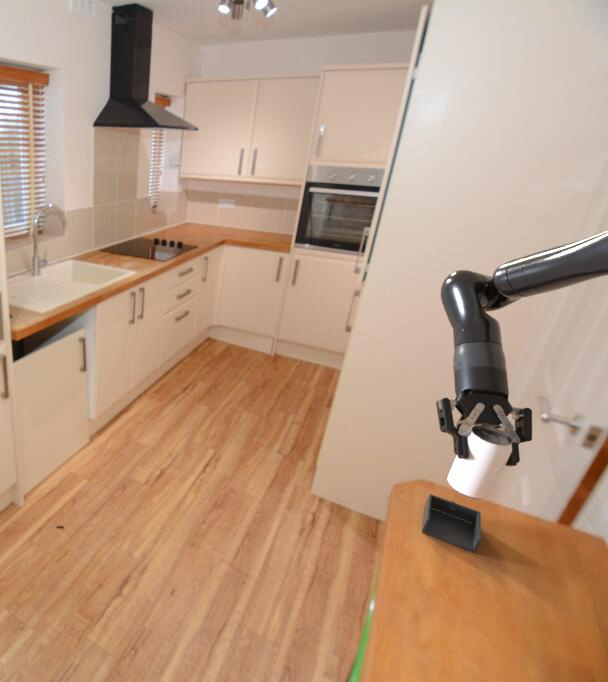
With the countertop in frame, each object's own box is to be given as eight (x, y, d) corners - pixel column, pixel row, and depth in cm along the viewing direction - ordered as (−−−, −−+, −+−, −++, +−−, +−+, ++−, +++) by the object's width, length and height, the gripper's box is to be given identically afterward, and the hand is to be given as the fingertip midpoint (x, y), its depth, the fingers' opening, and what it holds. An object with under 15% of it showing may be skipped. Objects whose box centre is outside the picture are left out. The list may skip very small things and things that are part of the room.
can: (480, 478, 86) (504, 426, 81) (497, 503, 80) (524, 449, 75) (440, 472, 88) (462, 421, 82) (454, 496, 82) (478, 443, 77)
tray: (474, 553, 86) (481, 540, 84) (421, 532, 90) (427, 519, 89) (474, 519, 93) (480, 506, 91) (425, 501, 97) (430, 488, 96)
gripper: (445, 360, 83) (450, 452, 78) (540, 370, 79) (552, 467, 74) (425, 371, 90) (429, 457, 85) (512, 381, 86) (521, 471, 81)
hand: (486, 461), depth 79 cm, fingers closed on can, 6 cm apart
